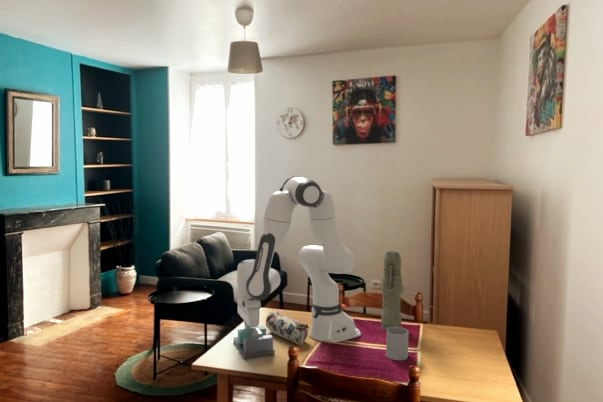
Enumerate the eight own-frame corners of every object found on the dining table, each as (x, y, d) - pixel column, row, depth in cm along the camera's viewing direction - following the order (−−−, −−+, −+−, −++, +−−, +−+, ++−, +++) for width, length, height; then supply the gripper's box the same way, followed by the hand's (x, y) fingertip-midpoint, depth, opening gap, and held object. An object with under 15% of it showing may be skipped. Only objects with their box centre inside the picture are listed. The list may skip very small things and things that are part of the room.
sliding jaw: (263, 337, 182) (263, 326, 181) (266, 340, 179) (266, 328, 179) (237, 341, 178) (237, 329, 177) (239, 344, 175) (239, 332, 174)
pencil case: (310, 342, 183) (310, 319, 182) (294, 347, 178) (294, 324, 177) (278, 327, 200) (278, 306, 199) (263, 332, 194) (263, 310, 194)
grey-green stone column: (401, 324, 204) (402, 250, 201) (401, 334, 192) (402, 255, 189) (381, 323, 206) (383, 249, 203) (380, 332, 194) (381, 254, 191)
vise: (261, 338, 187) (261, 322, 187) (274, 355, 171) (274, 337, 170) (233, 342, 183) (233, 326, 182) (244, 360, 166) (244, 342, 166)
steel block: (258, 342, 178) (258, 328, 177) (262, 348, 172) (262, 333, 172) (248, 343, 176) (248, 329, 176) (252, 349, 171) (252, 334, 170)
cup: (395, 362, 165) (395, 336, 164) (381, 353, 172) (382, 328, 171) (412, 357, 169) (413, 332, 168) (398, 349, 176) (399, 325, 175)
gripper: (233, 292, 191) (234, 323, 192) (246, 306, 172) (247, 340, 173) (247, 290, 193) (248, 321, 194) (262, 304, 174) (262, 338, 175)
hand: (247, 330), depth 183 cm, fingers closed
